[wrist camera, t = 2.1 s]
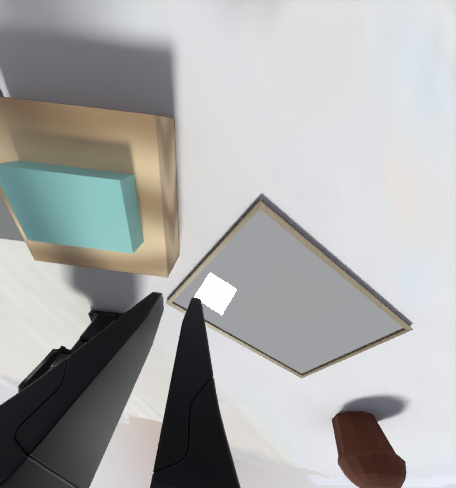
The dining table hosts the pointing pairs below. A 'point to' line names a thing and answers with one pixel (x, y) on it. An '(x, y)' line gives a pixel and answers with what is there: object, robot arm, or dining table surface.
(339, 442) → the muffin
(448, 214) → the dining table surface
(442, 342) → the dining table surface
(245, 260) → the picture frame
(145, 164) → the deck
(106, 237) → the teal rectangular block
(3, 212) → the mat
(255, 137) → the dining table surface
